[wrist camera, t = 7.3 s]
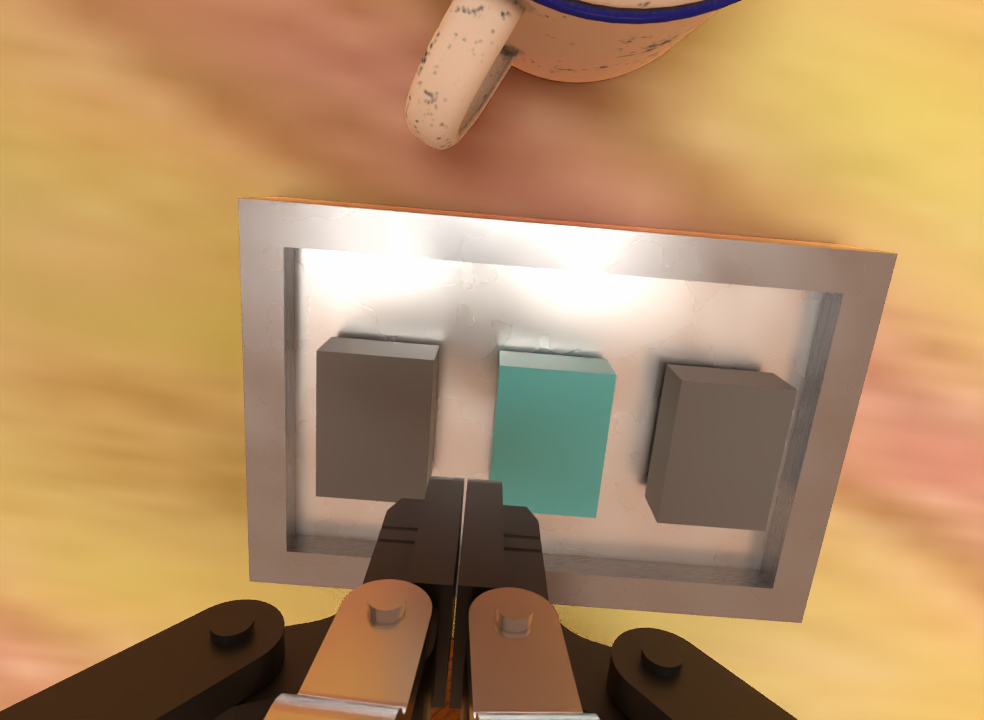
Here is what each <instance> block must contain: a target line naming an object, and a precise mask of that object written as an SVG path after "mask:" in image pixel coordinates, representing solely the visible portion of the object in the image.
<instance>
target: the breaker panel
mask: <svg viewBox="0 0 984 720" xmlns="http://www.w3.org/2000/svg"><path fill="white" fill-rule="evenodd" d="M238 205H239V239H240V273H241V307H242V340H243V374H244V408H245V442H246V475H247V509H248V543H249V576H250V581H253V582H267V583H280V584H293V585H306V586H320V587H333V588H346V589H355V588H357V587H359V586H360V585H362V584H363V581H364V578H365V575H366V572H367V569H368V566H369V563H370V560H371V557H372V554H373V551H374V548H375V545H376V542H377V540H378V536H379V533H380V530H381V529H382V524H383V521H384V518H385V515H386V512H387V510H388V509H389V508H390V507H392V506H393V505H394V504H395V502H382V501H369V500H357V499H344V498H331V497H318V496H316V351H317V350H318V349H319V348H320V347H321V346H322V345H323V344H324V343H325V342H326V341H327V340H329V339H330V338H331V337H341V338H354V339H366V340H378V341H390V342H403V343H415V344H427V345H439V360H438V376H437V393H436V409H435V426H434V442H433V459H432V475H431V476H439V477H453V478H465V479H464V495H463V510H462V524H461V538H460V552H459V565H458V576H457V587H456V597H457V588H458V577H459V566H460V555H461V544H462V534H463V523H464V512H465V501H466V491H467V480H468V478H469V479H483V480H488V477H489V466H490V455H491V443H492V432H493V421H494V410H495V398H496V387H497V376H498V365H499V353H500V350H501V351H513V352H525V353H538V354H550V355H562V356H574V357H587V358H599V359H607V360H608V362H609V364H610V365H611V367H612V368H613V370H614V372H615V373H616V375H617V376H616V383H615V390H614V397H613V404H612V411H611V418H610V425H609V432H608V439H607V446H606V453H605V460H604V466H603V473H602V480H601V487H600V494H599V501H598V508H597V515H596V518H588V517H575V516H562V515H550V514H537V513H532V514H533V515H534V516H535V517H536V519H537V520H538V521H539V529H540V536H541V537H540V540H541V544H542V553H543V560H544V568H545V575H546V583H547V591H548V599H549V602H550V604H558V605H571V606H584V607H597V608H611V609H624V610H637V611H650V612H664V613H677V614H690V615H703V616H716V617H730V618H743V619H756V620H769V621H783V622H796V623H802V619H803V615H804V611H805V607H806V603H807V600H808V596H809V592H810V588H811V584H812V580H813V576H814V573H815V569H816V565H817V561H818V557H819V553H820V550H821V546H822V542H823V538H824V534H825V530H826V527H827V523H828V519H829V515H830V511H831V507H832V504H833V500H834V496H835V492H836V488H837V484H838V480H839V477H840V473H841V469H842V465H843V461H844V457H845V454H846V450H847V446H848V442H849V438H850V434H851V431H852V427H853V423H854V419H855V415H856V411H857V407H858V404H859V400H860V396H861V392H862V388H863V384H864V381H865V377H866V373H867V369H868V365H869V361H870V358H871V354H872V350H873V346H874V342H875V338H876V335H877V331H878V327H879V323H880V319H881V315H882V311H883V308H884V304H885V300H886V296H887V292H888V288H889V285H890V281H891V277H892V273H893V269H894V265H895V262H896V258H897V254H895V253H889V252H883V251H878V250H872V249H866V248H860V247H854V246H849V245H843V244H835V243H823V242H811V241H800V240H788V239H776V238H764V237H752V236H741V235H729V234H717V233H705V232H693V231H682V230H670V229H658V228H646V227H634V226H623V225H611V224H599V223H587V222H576V221H564V220H552V219H540V218H528V217H517V216H505V215H493V214H481V213H469V212H458V211H446V210H434V209H422V208H410V207H399V206H387V205H375V204H363V203H352V202H340V201H328V200H316V199H304V198H293V197H281V196H270V197H250V198H238ZM666 364H672V365H685V366H697V367H709V368H721V369H734V370H746V371H758V372H770V373H774V374H775V375H777V376H778V377H780V378H781V379H783V380H784V381H786V382H787V383H789V384H790V385H791V386H793V387H794V388H796V389H797V390H798V391H797V395H796V399H795V404H794V408H793V412H792V417H791V421H790V425H789V430H788V434H787V438H786V443H785V447H784V452H783V456H782V460H781V465H780V469H779V473H778V478H777V482H776V486H775V491H774V495H773V499H772V504H771V508H770V512H769V517H768V521H767V525H766V530H765V531H755V530H742V529H730V528H717V527H704V526H691V525H678V524H665V523H657V522H656V520H655V517H654V515H653V513H652V511H651V509H650V507H649V505H648V503H647V500H646V498H645V490H646V484H647V478H648V472H649V466H650V460H651V454H652V448H653V442H654V436H655V430H656V424H657V418H658V412H659V406H660V400H661V394H662V388H663V382H664V376H665V370H666Z"/></svg>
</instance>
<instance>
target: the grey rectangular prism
mask: <svg viewBox="0 0 984 720" xmlns="http://www.w3.org/2000/svg"><path fill="white" fill-rule="evenodd" d="M438 360H439V345H427V344H415V343H403V342H390V341H378V340H366V339H354V338H341V337H331V338H330V339H329V340H327V341H326V342H325V343H324V344H323V345H322V346H321V347H320V348H319V349H318V350H317V351H316V496H318V497H331V498H344V499H357V500H369V501H382V502H395V503H396V502H397V501H399V500H400V499H401V498H410V499H425V494H426V490H427V485H428V481H429V477H430V476H431V475H432V459H433V442H434V426H435V409H436V393H437V376H438Z"/></svg>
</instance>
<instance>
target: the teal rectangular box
mask: <svg viewBox="0 0 984 720" xmlns="http://www.w3.org/2000/svg"><path fill="white" fill-rule="evenodd" d="M616 376H617V375H616V373H615V372H614V370H613V368H612V367H611V365H610V364H609V362H608V360H607V359H599V358H587V357H574V356H562V355H550V354H538V353H525V352H513V351H501V350H500V353H499V365H498V376H497V387H496V398H495V410H494V421H493V432H492V443H491V455H490V466H489V477H488V480H497V481H502V487H503V505H510V506H525V507H527V508H528V509H529V510H530V511H531V513H537V514H550V515H562V516H575V517H588V518H596V515H597V508H598V501H599V494H600V487H601V480H602V473H603V466H604V460H605V453H606V446H607V439H608V432H609V425H610V418H611V411H612V404H613V397H614V390H615V383H616Z"/></svg>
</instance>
